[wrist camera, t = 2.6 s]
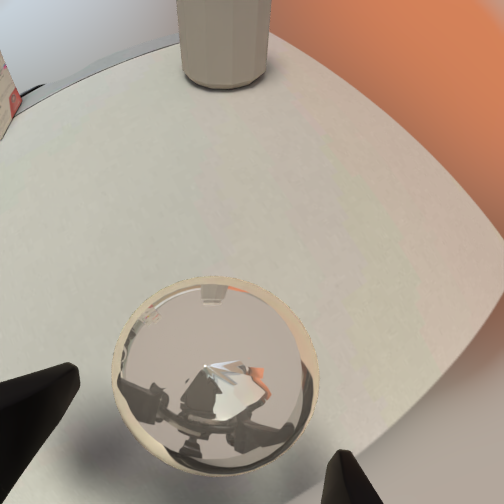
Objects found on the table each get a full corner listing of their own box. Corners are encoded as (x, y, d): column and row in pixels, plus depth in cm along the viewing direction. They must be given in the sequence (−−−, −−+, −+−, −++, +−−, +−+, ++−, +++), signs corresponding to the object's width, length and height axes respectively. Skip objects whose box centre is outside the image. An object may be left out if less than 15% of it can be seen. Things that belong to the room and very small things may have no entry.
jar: (218, 103, 30) (215, -65, 14) (168, 73, 33) (154, -62, 17) (283, 75, 33) (300, -64, 17) (230, 49, 36) (232, -70, 20)
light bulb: (305, 405, 17) (402, 395, 7) (207, 465, 15) (162, 544, 5) (242, 314, 20) (248, 194, 9) (147, 369, 18) (38, 309, 7)
